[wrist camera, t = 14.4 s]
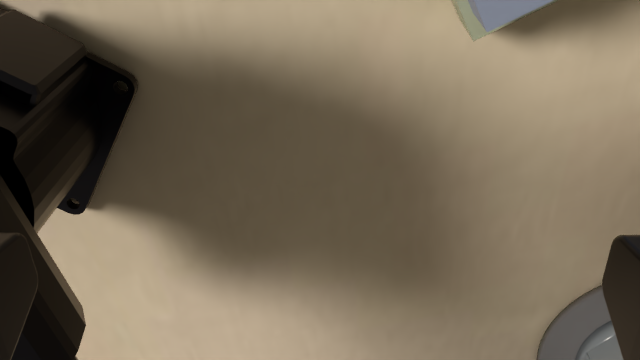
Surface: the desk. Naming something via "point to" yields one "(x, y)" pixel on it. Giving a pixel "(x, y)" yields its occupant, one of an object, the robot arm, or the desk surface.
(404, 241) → the desk surface
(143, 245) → the desk surface
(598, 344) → the pen cup
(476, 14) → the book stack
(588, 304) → the coaster
